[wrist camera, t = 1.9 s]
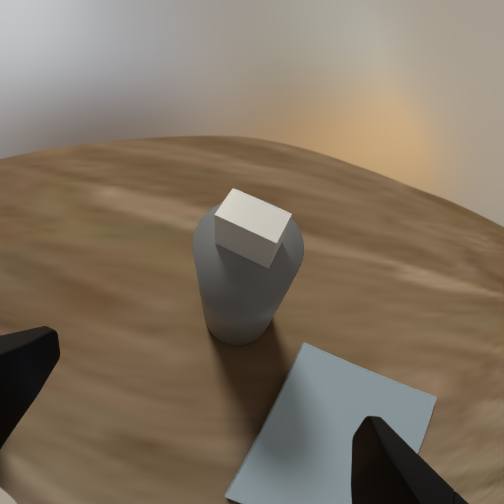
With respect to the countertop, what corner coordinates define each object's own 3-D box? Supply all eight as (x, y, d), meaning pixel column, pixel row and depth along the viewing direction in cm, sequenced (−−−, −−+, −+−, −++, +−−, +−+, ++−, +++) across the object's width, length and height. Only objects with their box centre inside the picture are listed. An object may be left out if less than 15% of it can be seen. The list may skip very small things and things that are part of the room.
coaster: (372, 532, 13) (377, 535, 13) (224, 493, 15) (224, 497, 14) (430, 397, 19) (436, 396, 18) (301, 344, 21) (304, 342, 20)
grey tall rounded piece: (252, 357, 20) (288, 297, 9) (192, 326, 21) (163, 235, 10) (280, 301, 22) (331, 197, 12) (223, 273, 23) (227, 153, 12)
